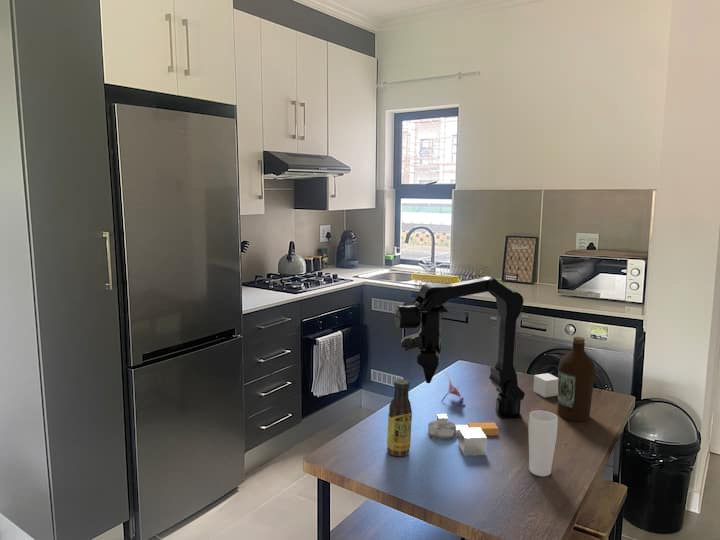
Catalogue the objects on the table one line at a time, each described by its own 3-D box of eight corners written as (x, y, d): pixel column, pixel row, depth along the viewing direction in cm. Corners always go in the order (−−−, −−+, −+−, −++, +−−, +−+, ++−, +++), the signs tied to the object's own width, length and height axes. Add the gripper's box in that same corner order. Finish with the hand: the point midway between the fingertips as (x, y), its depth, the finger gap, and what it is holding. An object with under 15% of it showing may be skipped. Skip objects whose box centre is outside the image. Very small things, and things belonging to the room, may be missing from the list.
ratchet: (491, 426, 159) (492, 409, 158) (500, 438, 151) (501, 420, 151) (425, 427, 158) (425, 410, 157) (430, 440, 150) (431, 422, 149)
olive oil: (573, 406, 174) (579, 332, 170) (599, 419, 164) (606, 341, 160) (547, 411, 170) (553, 335, 166) (572, 425, 160) (579, 345, 156)
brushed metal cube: (479, 444, 148) (480, 427, 147) (486, 455, 142) (486, 437, 141) (458, 444, 148) (458, 427, 147) (463, 455, 142) (464, 438, 141)
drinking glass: (553, 467, 136) (557, 412, 134) (554, 481, 130) (558, 423, 127) (526, 462, 138) (529, 408, 136) (525, 476, 132) (528, 419, 130)
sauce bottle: (394, 460, 139) (395, 387, 136) (382, 449, 145) (383, 379, 141) (415, 454, 142) (417, 383, 139) (402, 444, 148) (404, 375, 144)
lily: (457, 416, 168) (472, 389, 168) (426, 395, 173) (440, 370, 173) (463, 412, 180) (477, 388, 179) (433, 393, 184) (447, 369, 184)
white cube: (547, 389, 189) (548, 373, 188) (558, 395, 183) (560, 378, 182) (533, 391, 187) (534, 375, 186) (544, 397, 181) (545, 380, 180)
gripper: (406, 317, 168) (405, 365, 170) (399, 334, 150) (398, 387, 152) (442, 319, 166) (440, 367, 168) (439, 336, 148) (438, 389, 150)
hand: (429, 377), depth 160 cm, fingers open, 9 cm apart
